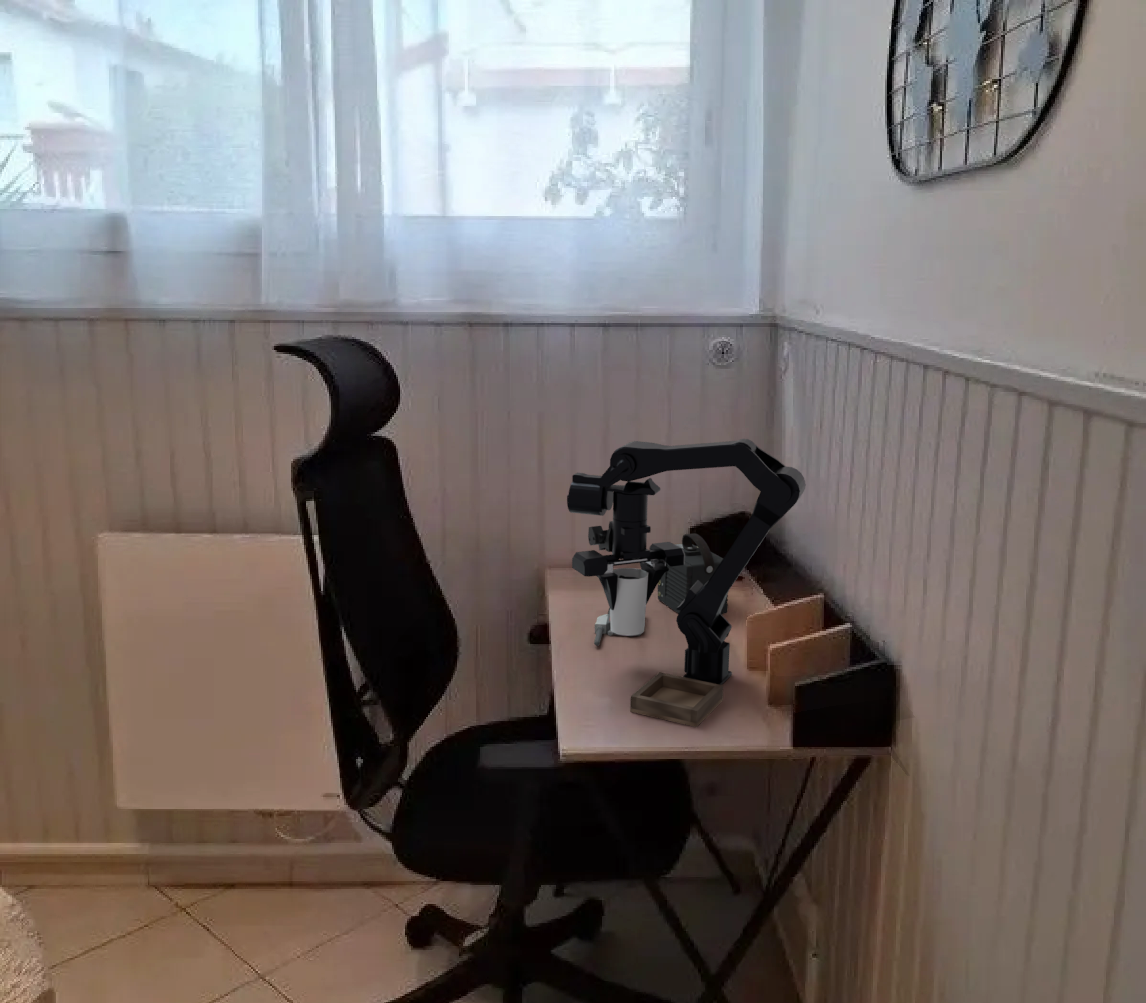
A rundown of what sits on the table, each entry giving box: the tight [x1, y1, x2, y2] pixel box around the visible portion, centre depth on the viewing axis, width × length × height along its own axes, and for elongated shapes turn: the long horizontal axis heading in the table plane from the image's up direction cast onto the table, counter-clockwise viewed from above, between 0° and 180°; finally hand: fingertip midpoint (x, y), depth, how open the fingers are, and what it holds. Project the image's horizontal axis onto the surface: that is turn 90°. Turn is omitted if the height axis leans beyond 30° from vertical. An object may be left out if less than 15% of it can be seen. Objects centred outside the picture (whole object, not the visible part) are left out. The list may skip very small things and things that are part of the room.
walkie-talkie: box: [593, 607, 642, 647], centre depth 197 cm, size 9×4×20 cm
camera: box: [657, 533, 729, 615], centre depth 210 cm, size 11×14×15 cm
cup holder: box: [629, 671, 724, 728], centre depth 164 cm, size 11×11×3 cm
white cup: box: [610, 567, 648, 637], centre depth 178 cm, size 7×7×10 cm
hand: (628, 607), depth 178 cm, fingers closed on white cup, 6 cm apart
